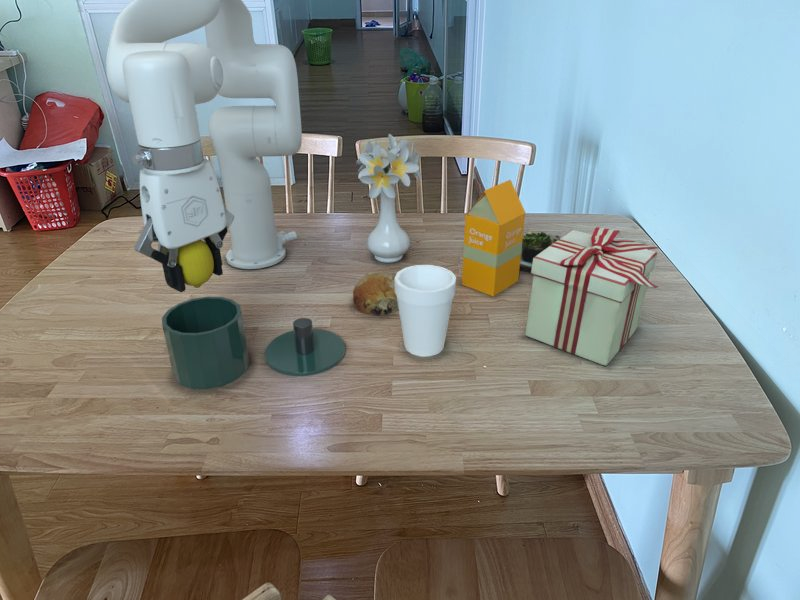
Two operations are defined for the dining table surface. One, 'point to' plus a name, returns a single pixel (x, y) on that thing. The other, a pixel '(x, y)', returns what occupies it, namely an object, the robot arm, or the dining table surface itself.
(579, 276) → the gift box
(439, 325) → the foam cup
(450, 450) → the dining table surface
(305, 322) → the lid
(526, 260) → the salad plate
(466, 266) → the orange juice
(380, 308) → the bread roll
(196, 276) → the lemon
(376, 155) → the flower vase
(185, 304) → the pot
